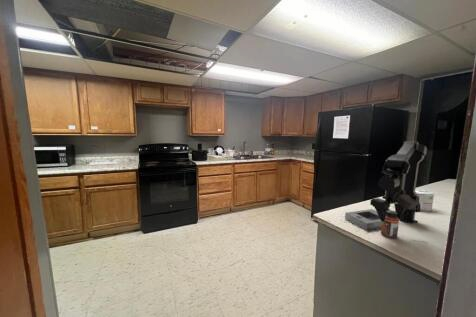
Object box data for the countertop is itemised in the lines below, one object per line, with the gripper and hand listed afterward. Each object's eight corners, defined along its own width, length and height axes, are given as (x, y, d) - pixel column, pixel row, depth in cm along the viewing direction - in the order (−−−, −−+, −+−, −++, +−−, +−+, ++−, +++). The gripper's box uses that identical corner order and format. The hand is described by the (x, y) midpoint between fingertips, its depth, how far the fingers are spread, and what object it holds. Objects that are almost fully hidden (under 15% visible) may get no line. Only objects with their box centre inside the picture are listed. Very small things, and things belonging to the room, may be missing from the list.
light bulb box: (422, 206, 122) (425, 190, 121) (432, 211, 115) (434, 193, 114) (404, 206, 123) (406, 189, 122) (412, 210, 117) (415, 193, 115)
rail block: (371, 215, 110) (371, 208, 110) (395, 225, 98) (395, 218, 97) (344, 218, 105) (345, 212, 105) (366, 230, 93) (367, 223, 92)
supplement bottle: (377, 232, 92) (379, 209, 90) (389, 231, 92) (391, 208, 90) (388, 239, 86) (390, 214, 84) (400, 238, 86) (403, 214, 85)
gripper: (397, 193, 76) (392, 231, 78) (431, 190, 80) (426, 225, 83) (370, 186, 86) (367, 219, 88) (402, 183, 91) (398, 215, 93)
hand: (390, 220), depth 88 cm, fingers open, 9 cm apart
